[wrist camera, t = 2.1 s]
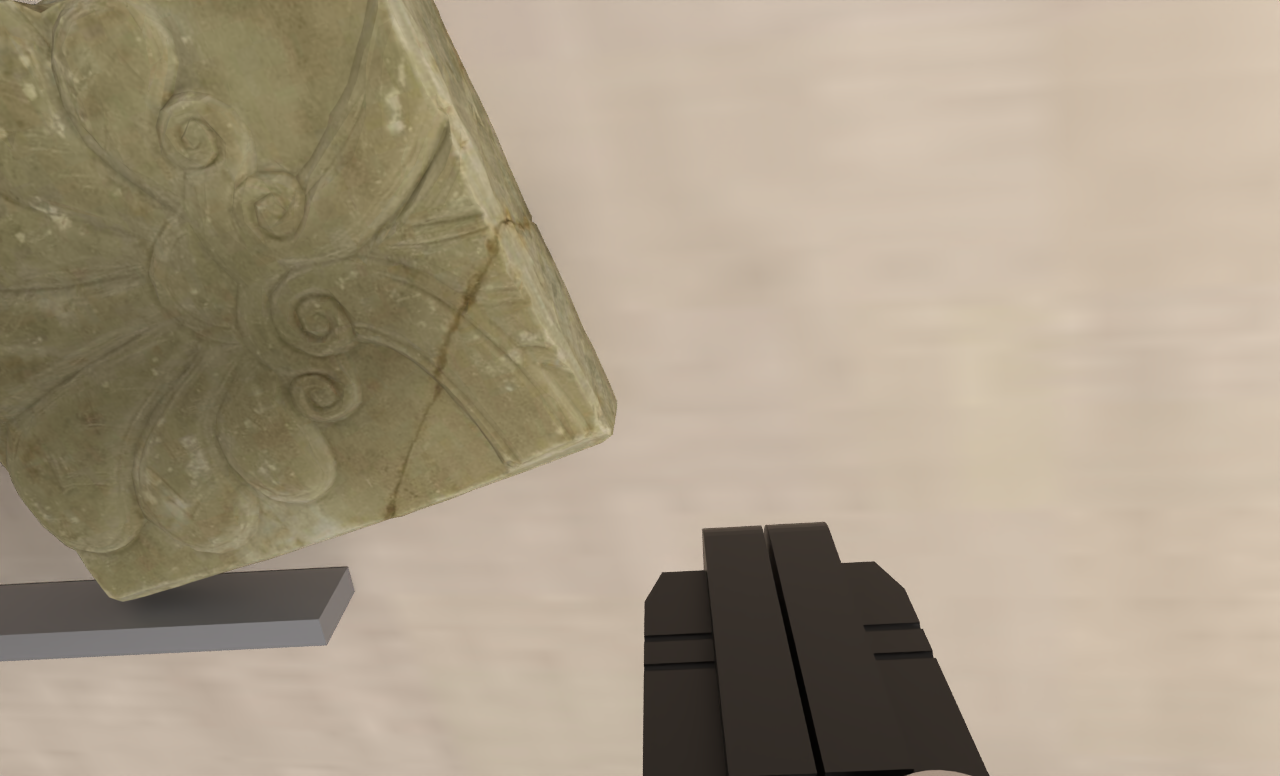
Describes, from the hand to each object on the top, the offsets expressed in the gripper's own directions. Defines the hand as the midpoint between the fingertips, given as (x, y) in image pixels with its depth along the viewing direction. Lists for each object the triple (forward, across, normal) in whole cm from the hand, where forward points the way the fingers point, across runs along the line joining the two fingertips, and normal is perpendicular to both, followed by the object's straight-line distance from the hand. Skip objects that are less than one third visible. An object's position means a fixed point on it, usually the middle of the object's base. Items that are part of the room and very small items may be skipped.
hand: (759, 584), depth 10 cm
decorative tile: (+18, +15, 0) cm, 23 cm away
